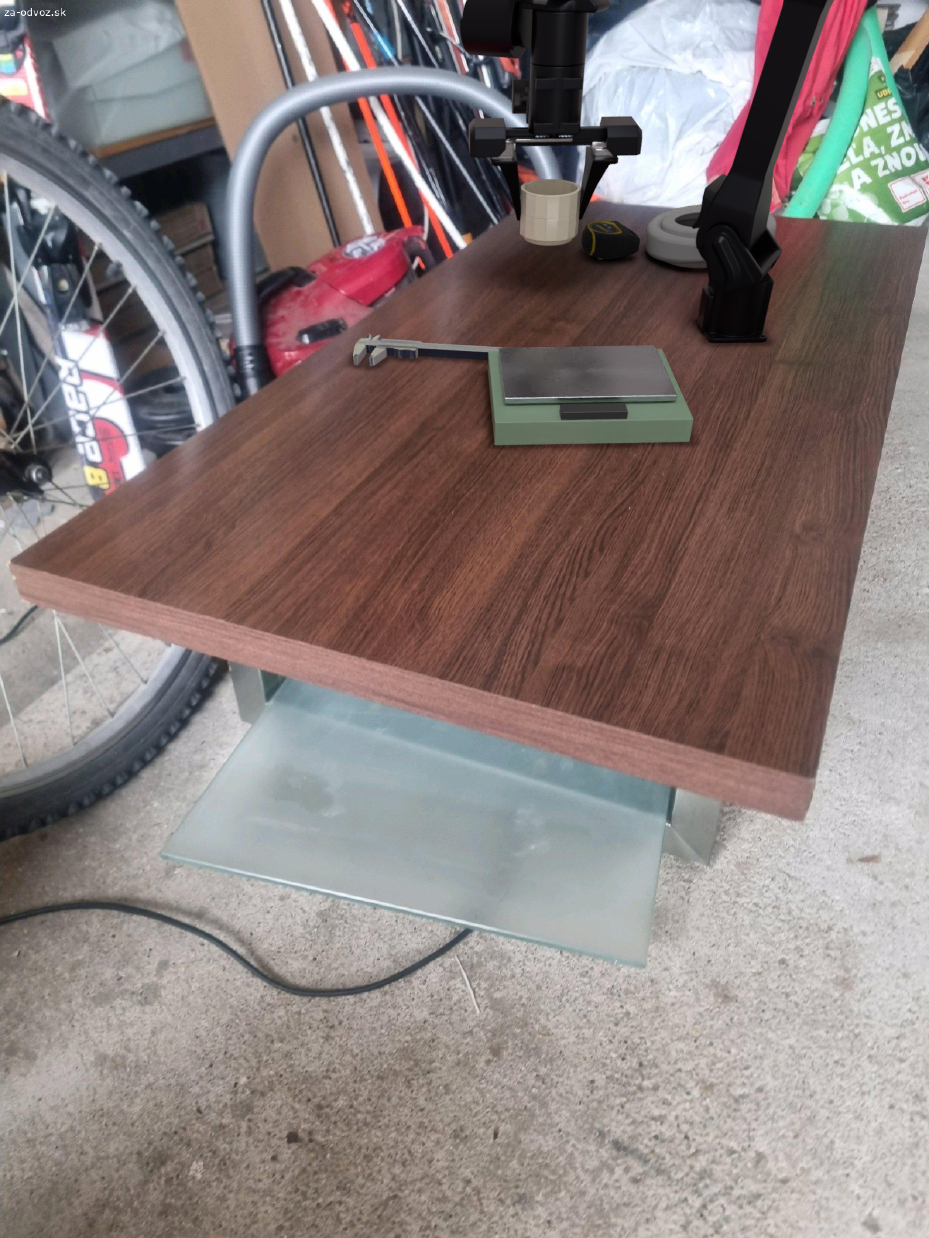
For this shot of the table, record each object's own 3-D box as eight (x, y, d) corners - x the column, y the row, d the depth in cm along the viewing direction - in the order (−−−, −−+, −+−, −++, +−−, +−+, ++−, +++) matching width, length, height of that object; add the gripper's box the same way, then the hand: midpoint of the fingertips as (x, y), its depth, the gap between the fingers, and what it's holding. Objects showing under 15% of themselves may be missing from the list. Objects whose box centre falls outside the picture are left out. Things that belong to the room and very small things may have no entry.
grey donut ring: (669, 241, 125) (628, 272, 115) (673, 192, 121) (630, 220, 111) (788, 252, 117) (754, 287, 108) (796, 200, 113) (762, 231, 104)
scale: (658, 370, 91) (663, 341, 89) (689, 442, 80) (695, 411, 77) (487, 373, 91) (488, 344, 89) (494, 446, 79) (495, 414, 77)
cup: (573, 228, 105) (577, 178, 101) (580, 246, 100) (584, 195, 96) (517, 228, 105) (519, 179, 101) (521, 247, 100) (523, 196, 96)
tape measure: (640, 261, 115) (643, 232, 113) (593, 267, 114) (595, 237, 111) (617, 245, 120) (620, 216, 118) (572, 250, 119) (574, 222, 116)
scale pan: (654, 350, 88) (655, 345, 88) (676, 401, 80) (677, 395, 80) (498, 353, 88) (498, 347, 88) (504, 404, 80) (504, 398, 80)
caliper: (352, 357, 91) (356, 333, 96) (353, 367, 92) (357, 342, 97) (544, 354, 92) (539, 330, 96) (544, 364, 92) (538, 339, 97)
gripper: (633, 48, 97) (618, 198, 107) (467, 50, 97) (468, 200, 107) (651, 66, 88) (633, 226, 99) (469, 69, 88) (470, 229, 98)
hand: (549, 219), depth 101 cm, fingers closed on cup, 7 cm apart
